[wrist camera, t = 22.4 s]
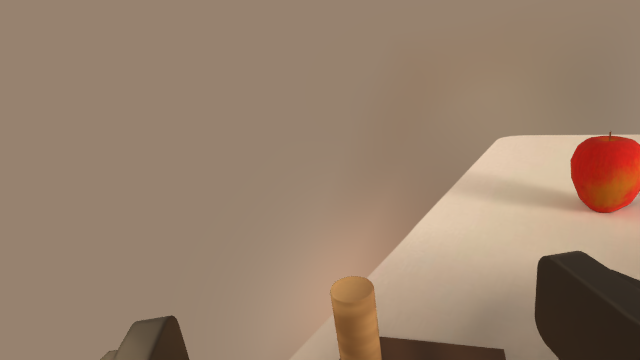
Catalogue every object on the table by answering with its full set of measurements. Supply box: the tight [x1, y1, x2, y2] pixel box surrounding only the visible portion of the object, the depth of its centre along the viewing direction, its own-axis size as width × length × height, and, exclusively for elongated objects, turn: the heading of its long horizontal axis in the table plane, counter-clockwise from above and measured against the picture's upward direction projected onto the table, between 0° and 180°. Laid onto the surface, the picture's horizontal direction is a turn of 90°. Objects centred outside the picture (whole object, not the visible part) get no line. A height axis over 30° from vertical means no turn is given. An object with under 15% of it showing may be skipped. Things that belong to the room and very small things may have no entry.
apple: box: [571, 132, 640, 213], centre depth 56 cm, size 9×9×12 cm
